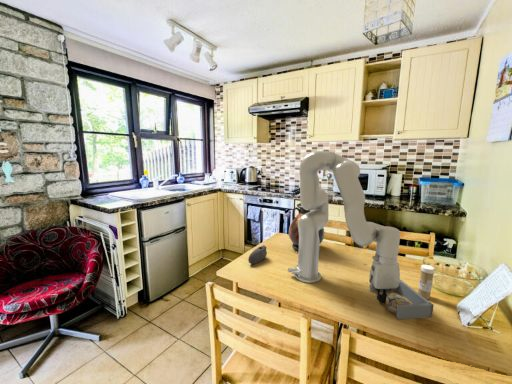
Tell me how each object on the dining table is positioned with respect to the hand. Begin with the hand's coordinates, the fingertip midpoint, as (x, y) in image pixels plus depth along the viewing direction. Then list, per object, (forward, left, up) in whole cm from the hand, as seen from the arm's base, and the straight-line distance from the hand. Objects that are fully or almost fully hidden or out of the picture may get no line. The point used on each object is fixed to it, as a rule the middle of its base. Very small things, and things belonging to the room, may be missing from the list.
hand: (381, 301), depth 96 cm
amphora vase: (-14, +56, -1) cm, 57 cm away
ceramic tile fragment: (+6, -3, -1) cm, 6 cm away
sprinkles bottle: (+21, +3, -1) cm, 21 cm away
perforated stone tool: (-45, +41, -1) cm, 61 cm away
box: (+7, 0, -1) cm, 7 cm away
